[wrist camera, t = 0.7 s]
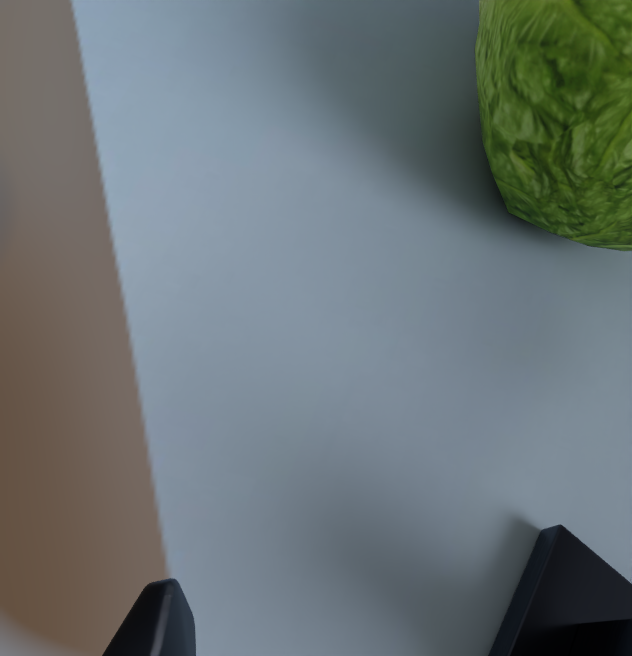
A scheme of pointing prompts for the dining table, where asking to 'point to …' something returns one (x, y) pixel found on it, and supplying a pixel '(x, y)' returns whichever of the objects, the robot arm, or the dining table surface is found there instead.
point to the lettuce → (560, 113)
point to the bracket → (567, 603)
